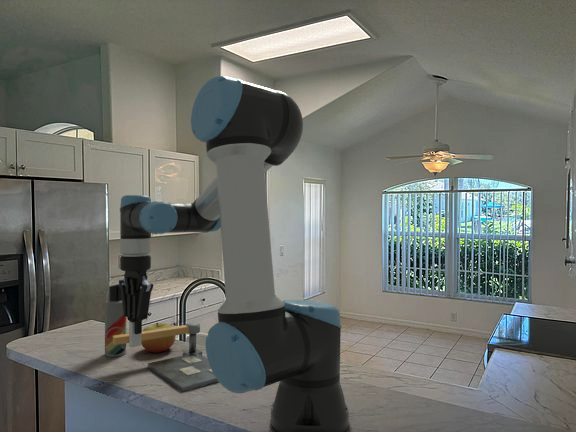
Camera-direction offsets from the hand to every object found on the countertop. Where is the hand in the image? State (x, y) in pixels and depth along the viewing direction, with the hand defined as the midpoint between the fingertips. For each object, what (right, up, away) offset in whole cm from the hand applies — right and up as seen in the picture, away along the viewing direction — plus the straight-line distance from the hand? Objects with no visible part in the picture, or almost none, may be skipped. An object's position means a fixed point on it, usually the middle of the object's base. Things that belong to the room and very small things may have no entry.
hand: (135, 345), depth 109 cm
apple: (+1, -6, +15) cm, 16 cm away
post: (+12, -6, +12) cm, 18 cm away
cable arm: (+4, 0, +6) cm, 7 cm away
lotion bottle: (-10, -6, +11) cm, 16 cm away
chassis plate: (+15, -6, -2) cm, 16 cm away
